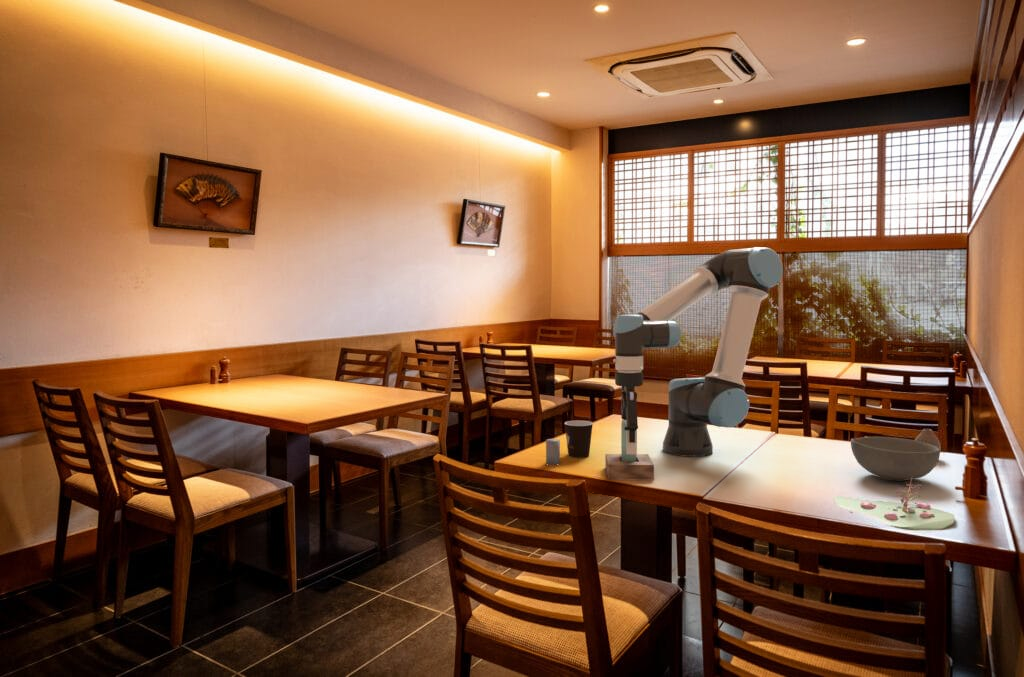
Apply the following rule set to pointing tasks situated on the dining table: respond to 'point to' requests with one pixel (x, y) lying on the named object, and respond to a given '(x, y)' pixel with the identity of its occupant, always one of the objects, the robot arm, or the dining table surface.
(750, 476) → the dining table surface
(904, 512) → the plant
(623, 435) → the teal dowel
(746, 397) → the robot arm
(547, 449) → the grey-blue block
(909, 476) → the bowl
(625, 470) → the socket block
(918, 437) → the vase
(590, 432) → the coffee mug
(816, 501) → the dining table surface
